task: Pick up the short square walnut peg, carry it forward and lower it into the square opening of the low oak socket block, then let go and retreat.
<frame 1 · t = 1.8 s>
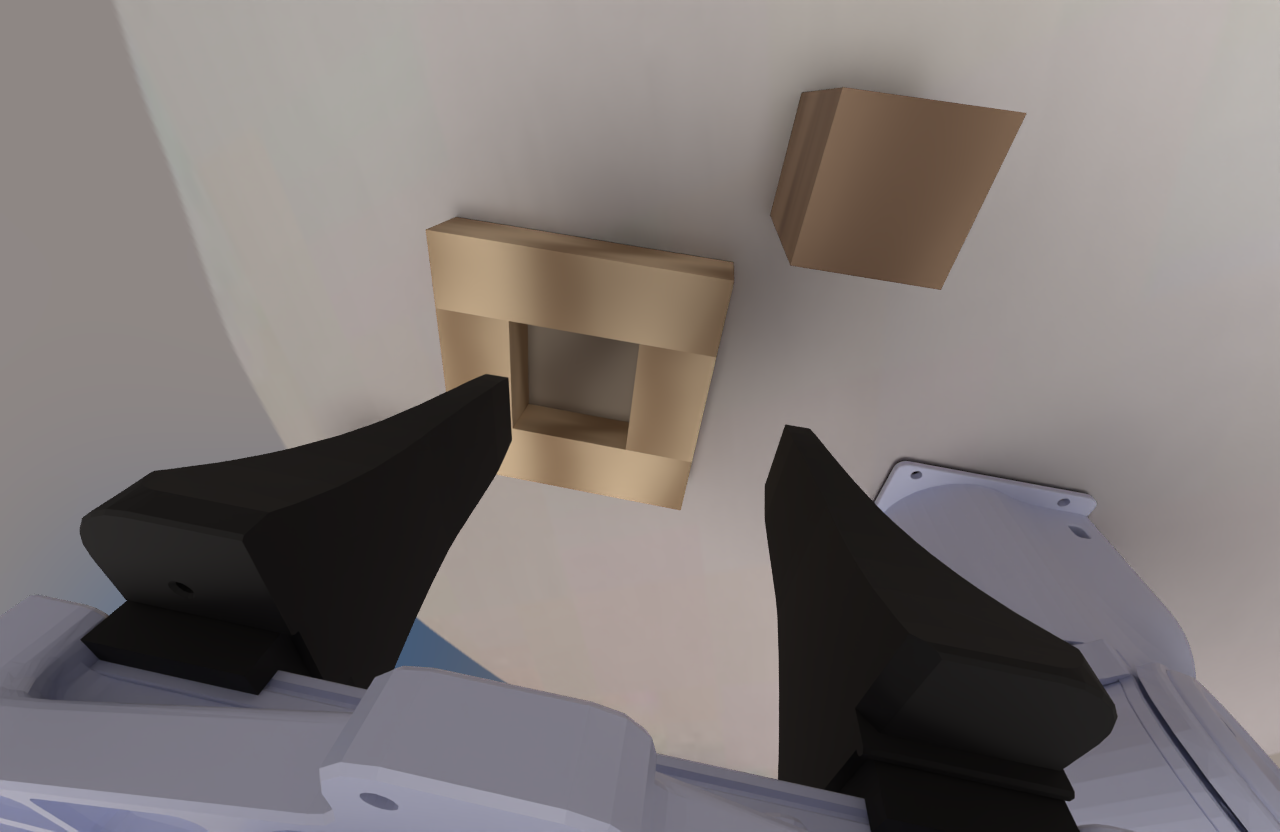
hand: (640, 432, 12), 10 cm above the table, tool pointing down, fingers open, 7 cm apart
walnut peg: (839, 165, 18), on the table
oak socket block: (584, 364, 24), on the table
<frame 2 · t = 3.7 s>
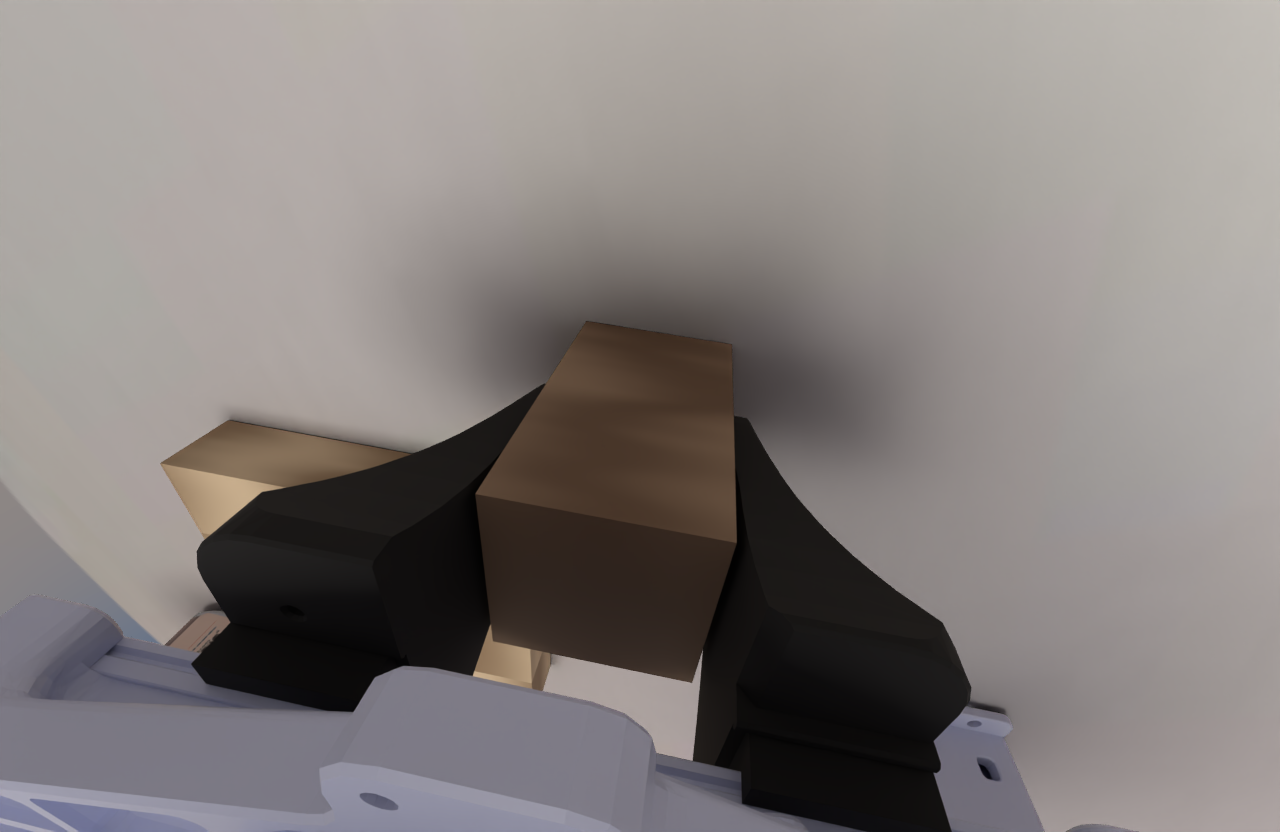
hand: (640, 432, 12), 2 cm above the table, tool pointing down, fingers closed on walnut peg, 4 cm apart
beer can: (249, 627, 26), on the table
walnut peg: (649, 395, 14), on the table, touching gripper
oak socket block: (412, 560, 20), on the table
when the fingers open (4 cm above the table, at t = 7.0 s): walnut peg drops 2 cm, resting on oak socket block.
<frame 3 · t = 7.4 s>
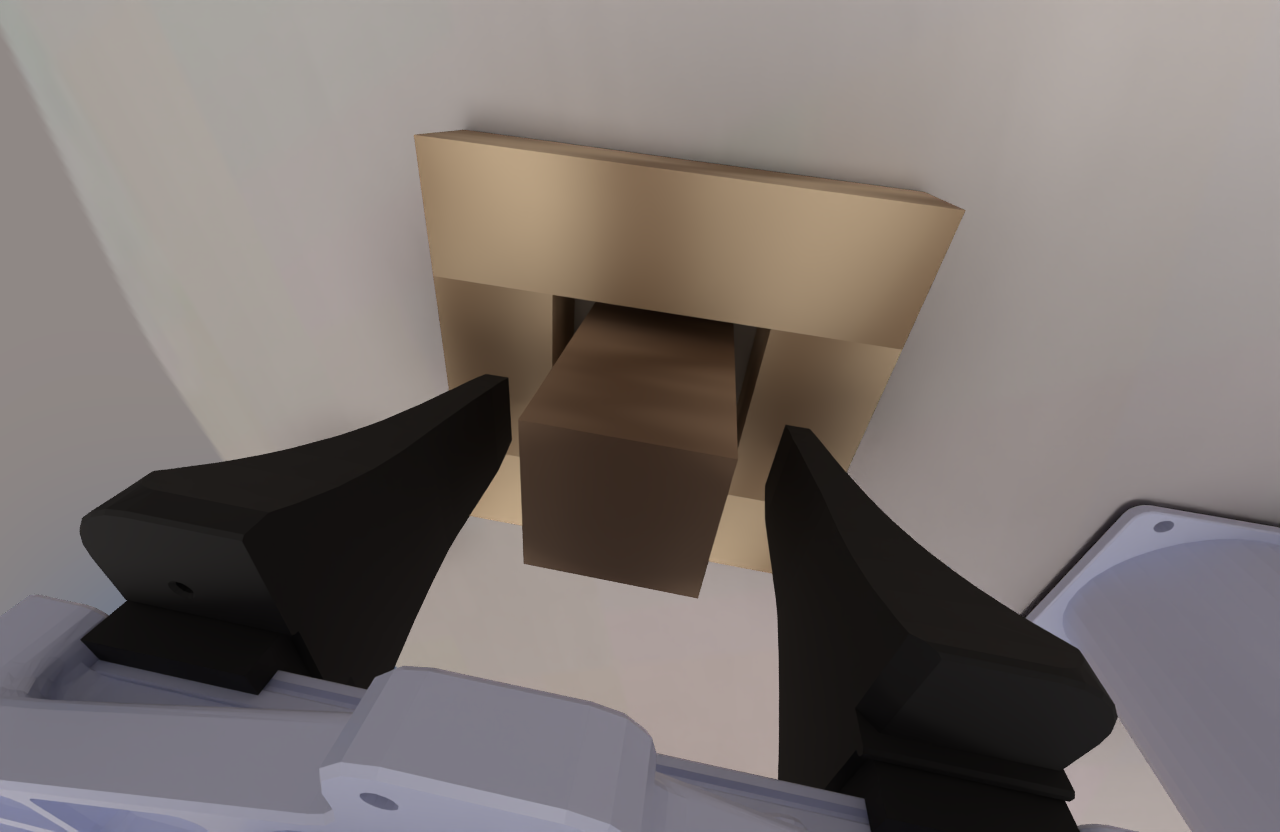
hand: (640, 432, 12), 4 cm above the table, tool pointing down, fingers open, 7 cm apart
walnut peg: (657, 362, 15), resting on oak socket block
oak socket block: (657, 364, 16), on the table
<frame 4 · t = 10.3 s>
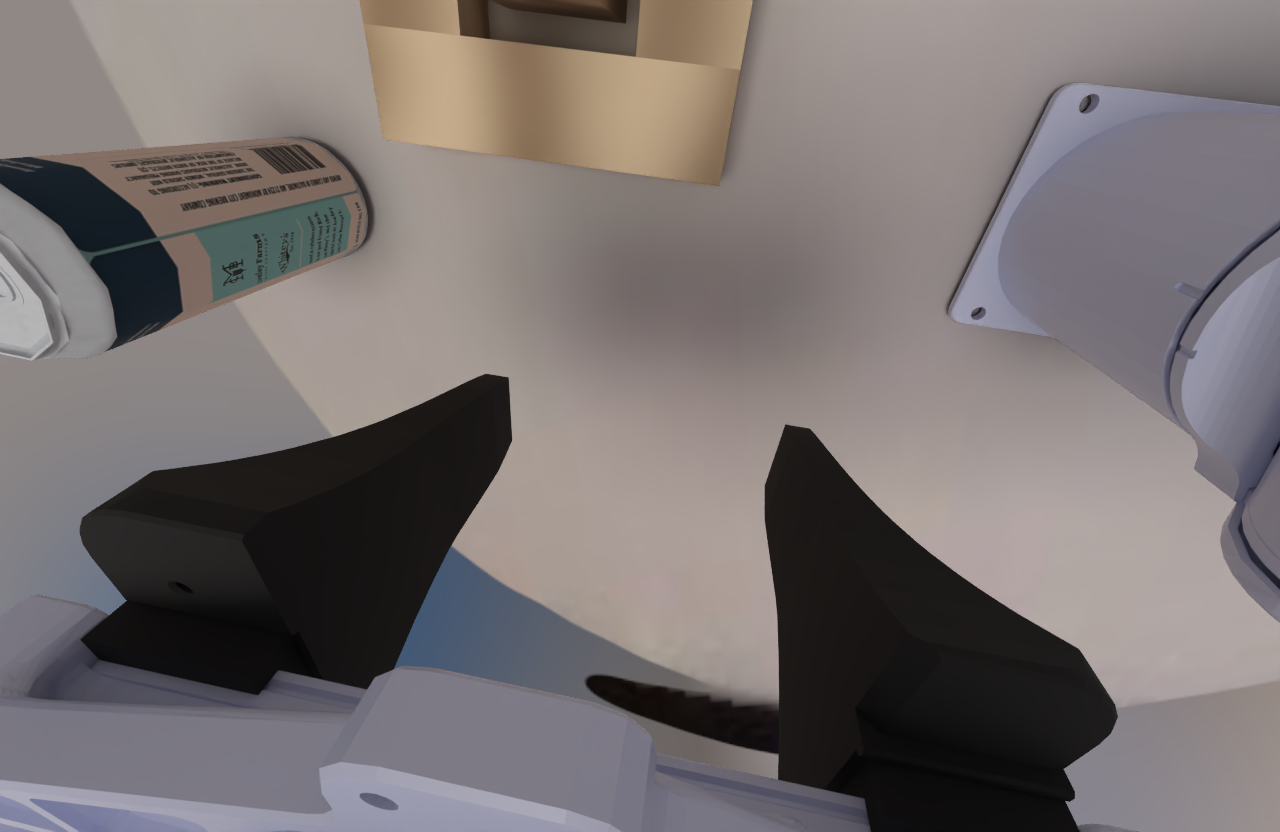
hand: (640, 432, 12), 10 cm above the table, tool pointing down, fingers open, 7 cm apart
beer can: (325, 198, 21), on the table
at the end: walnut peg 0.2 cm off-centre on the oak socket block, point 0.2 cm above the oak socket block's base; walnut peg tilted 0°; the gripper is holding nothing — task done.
